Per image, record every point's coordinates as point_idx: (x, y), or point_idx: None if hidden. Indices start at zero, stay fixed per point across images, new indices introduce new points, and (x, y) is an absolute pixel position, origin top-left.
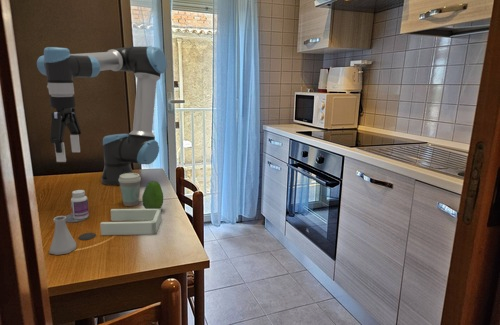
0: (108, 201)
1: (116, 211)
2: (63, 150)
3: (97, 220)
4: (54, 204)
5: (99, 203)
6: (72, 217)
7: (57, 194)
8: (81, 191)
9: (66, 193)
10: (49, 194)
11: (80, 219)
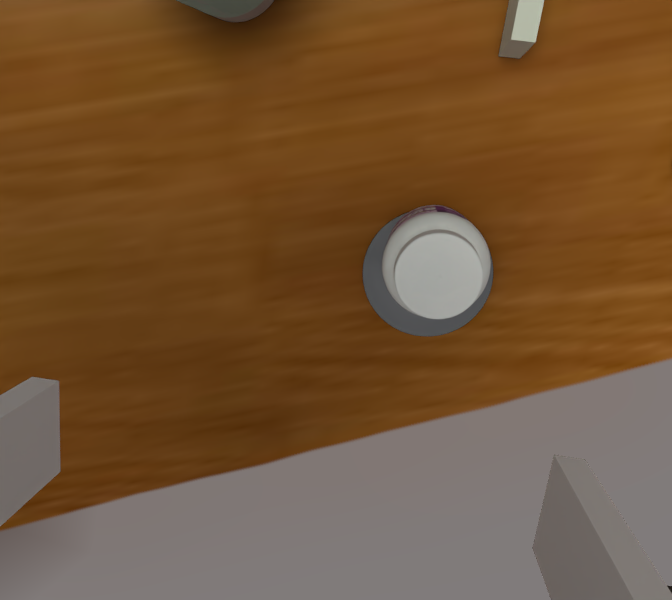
0: (178, 132)
1: (542, 1)
2: (655, 580)
3: (490, 145)
4: (200, 424)
5: (209, 183)
6: None
7: None
8: (446, 253)
9: None
10: None
11: None
